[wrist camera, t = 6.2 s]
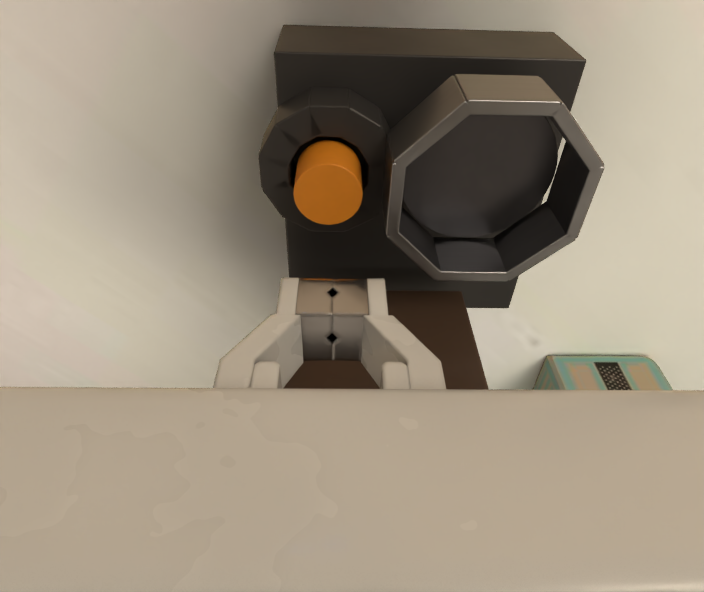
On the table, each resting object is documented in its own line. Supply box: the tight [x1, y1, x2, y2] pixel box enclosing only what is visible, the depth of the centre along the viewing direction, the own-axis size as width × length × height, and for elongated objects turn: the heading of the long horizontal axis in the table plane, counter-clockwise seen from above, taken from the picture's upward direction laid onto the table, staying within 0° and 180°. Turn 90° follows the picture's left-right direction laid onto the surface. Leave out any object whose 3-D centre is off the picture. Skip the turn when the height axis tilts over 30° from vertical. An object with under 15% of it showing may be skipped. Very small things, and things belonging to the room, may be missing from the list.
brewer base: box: [259, 25, 586, 308], centre depth 24 cm, size 13×13×6 cm
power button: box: [293, 140, 363, 225], centre depth 20 cm, size 3×3×2 cm
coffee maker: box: [283, 74, 604, 390], centre depth 17 cm, size 12×13×15 cm
